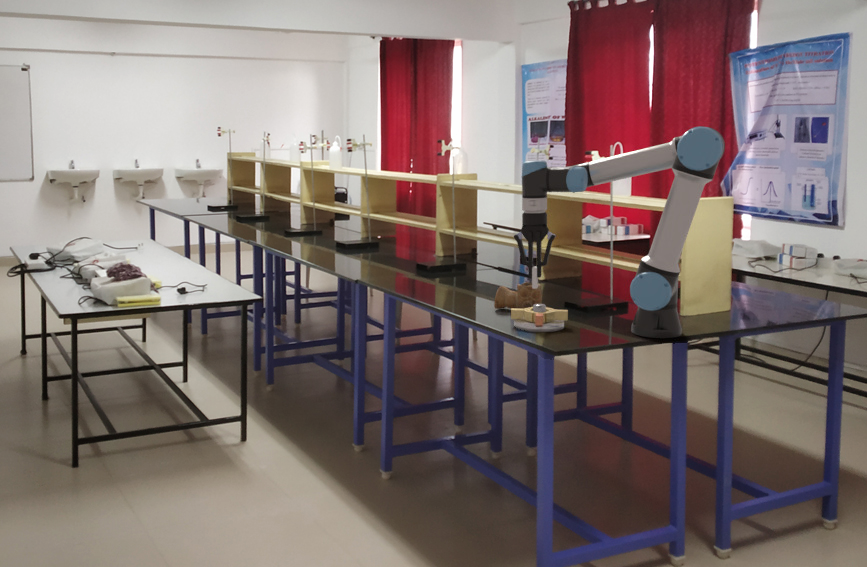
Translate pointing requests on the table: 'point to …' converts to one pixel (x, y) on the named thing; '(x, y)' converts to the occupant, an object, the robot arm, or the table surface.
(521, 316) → the star wheel
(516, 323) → the star wheel turntable
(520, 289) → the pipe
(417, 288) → the table surface
